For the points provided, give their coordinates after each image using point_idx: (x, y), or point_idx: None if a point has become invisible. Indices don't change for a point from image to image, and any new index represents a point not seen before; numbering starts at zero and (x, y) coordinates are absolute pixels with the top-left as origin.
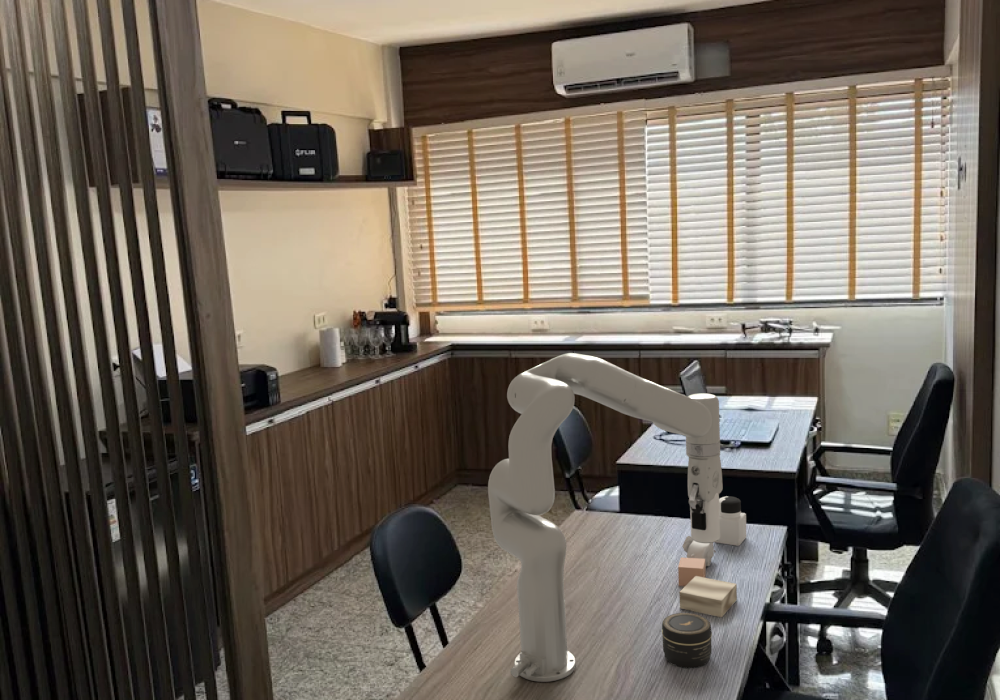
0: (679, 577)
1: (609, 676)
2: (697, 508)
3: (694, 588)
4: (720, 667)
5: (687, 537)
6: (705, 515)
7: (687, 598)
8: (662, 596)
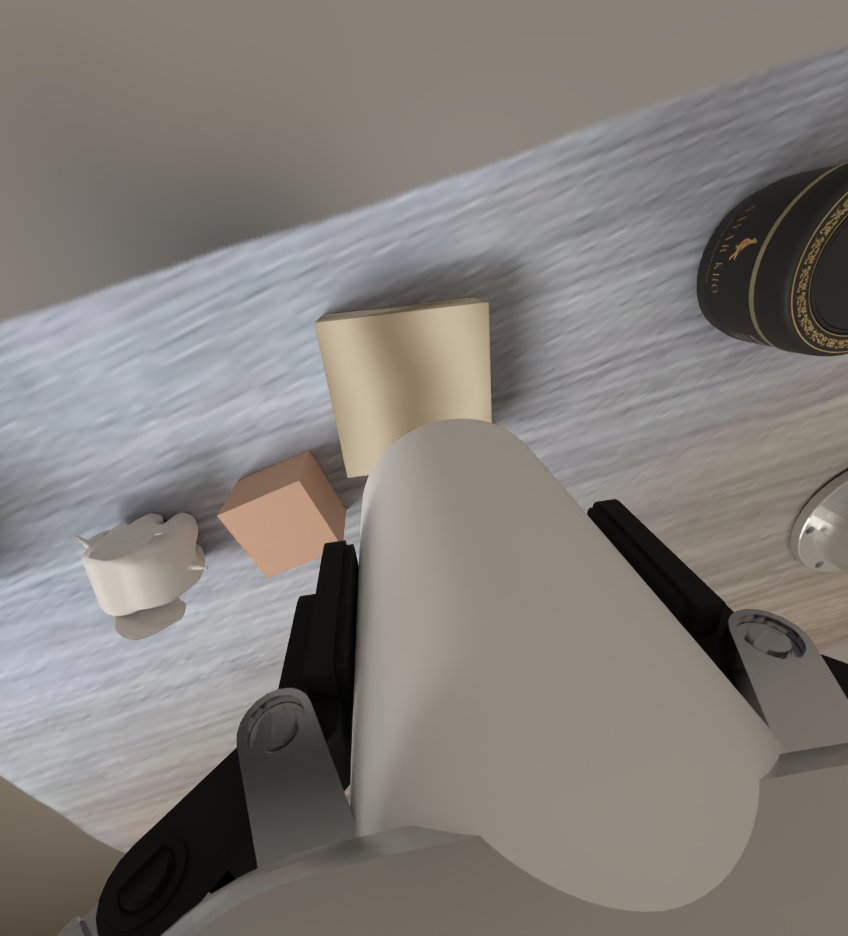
0: (342, 523)
1: None
2: None
3: None
4: (797, 131)
5: (141, 635)
6: (696, 585)
7: None
8: None
